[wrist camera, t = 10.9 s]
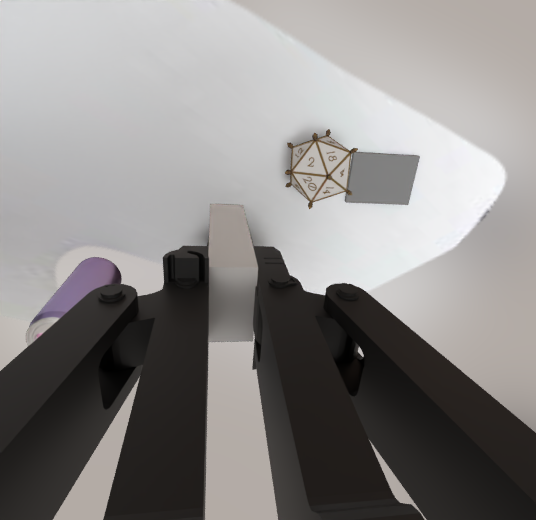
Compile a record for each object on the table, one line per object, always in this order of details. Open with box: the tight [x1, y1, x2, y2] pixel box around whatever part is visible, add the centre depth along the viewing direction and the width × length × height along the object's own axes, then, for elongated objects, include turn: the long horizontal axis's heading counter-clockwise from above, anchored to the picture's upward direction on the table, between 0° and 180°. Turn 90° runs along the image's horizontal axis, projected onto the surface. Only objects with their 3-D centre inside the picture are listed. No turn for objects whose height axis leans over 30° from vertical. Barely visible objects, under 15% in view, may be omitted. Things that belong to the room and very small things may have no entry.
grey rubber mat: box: [345, 152, 420, 205], centre depth 49 cm, size 9×7×1 cm
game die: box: [285, 129, 358, 209], centre depth 42 cm, size 9×8×10 cm
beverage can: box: [26, 257, 121, 346], centre depth 44 cm, size 6×6×15 cm
